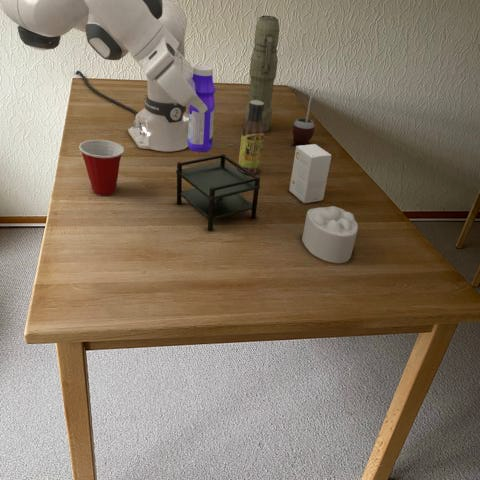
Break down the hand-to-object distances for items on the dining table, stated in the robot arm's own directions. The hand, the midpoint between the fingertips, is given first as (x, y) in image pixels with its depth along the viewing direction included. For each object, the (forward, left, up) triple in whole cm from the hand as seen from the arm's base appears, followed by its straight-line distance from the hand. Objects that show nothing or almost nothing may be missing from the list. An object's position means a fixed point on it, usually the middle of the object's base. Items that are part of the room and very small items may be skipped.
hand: (204, 104), depth 111 cm
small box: (+4, +32, -27) cm, 42 cm away
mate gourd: (-26, +56, -27) cm, 68 cm away
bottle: (0, -1, -10) cm, 10 cm away
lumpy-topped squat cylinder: (+27, +19, -27) cm, 43 cm away
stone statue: (-44, +51, -27) cm, 73 cm away
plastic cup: (-22, -15, -27) cm, 38 cm away
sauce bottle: (-16, +27, -27) cm, 42 cm away
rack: (0, +5, -27) cm, 28 cm away
